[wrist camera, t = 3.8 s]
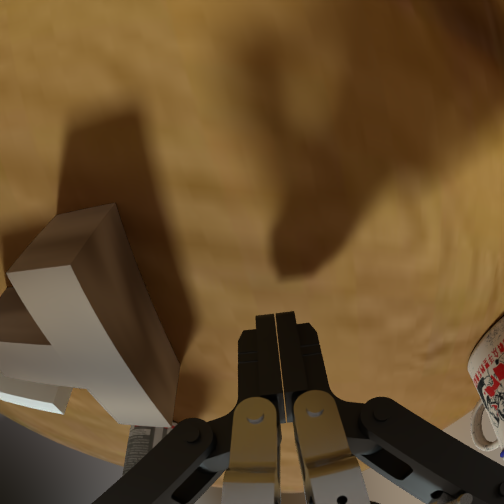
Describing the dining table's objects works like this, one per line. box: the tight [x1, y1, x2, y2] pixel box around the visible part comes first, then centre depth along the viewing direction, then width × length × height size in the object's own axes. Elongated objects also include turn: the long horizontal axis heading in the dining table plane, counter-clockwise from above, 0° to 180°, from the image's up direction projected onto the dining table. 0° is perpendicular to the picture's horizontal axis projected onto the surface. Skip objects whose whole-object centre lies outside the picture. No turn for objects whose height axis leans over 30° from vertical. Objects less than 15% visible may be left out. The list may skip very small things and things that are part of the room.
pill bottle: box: [123, 422, 177, 476], centre depth 18 cm, size 5×5×8 cm
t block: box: [0, 203, 180, 427], centre depth 12 cm, size 10×9×4 cm
